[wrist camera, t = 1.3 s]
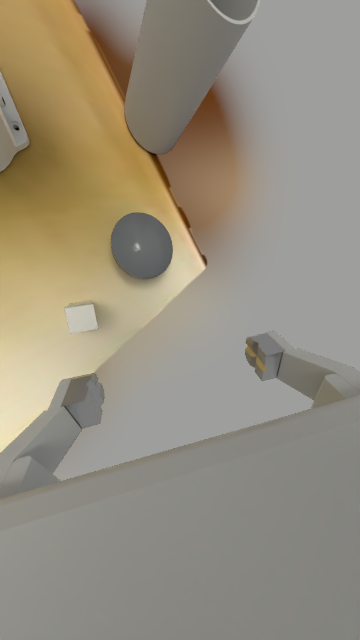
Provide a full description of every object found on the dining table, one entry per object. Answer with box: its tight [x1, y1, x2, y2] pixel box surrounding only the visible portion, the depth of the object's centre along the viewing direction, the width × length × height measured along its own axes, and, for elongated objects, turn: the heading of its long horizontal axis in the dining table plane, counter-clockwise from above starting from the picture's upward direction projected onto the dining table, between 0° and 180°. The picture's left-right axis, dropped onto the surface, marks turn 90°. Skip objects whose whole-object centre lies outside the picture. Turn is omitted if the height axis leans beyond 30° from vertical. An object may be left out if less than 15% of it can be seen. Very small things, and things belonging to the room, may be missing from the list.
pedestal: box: [111, 213, 173, 279], centre depth 42 cm, size 13×13×7 cm
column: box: [64, 301, 98, 334], centre depth 35 cm, size 4×4×14 cm
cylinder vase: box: [124, 0, 260, 154], centre depth 32 cm, size 12×12×25 cm
